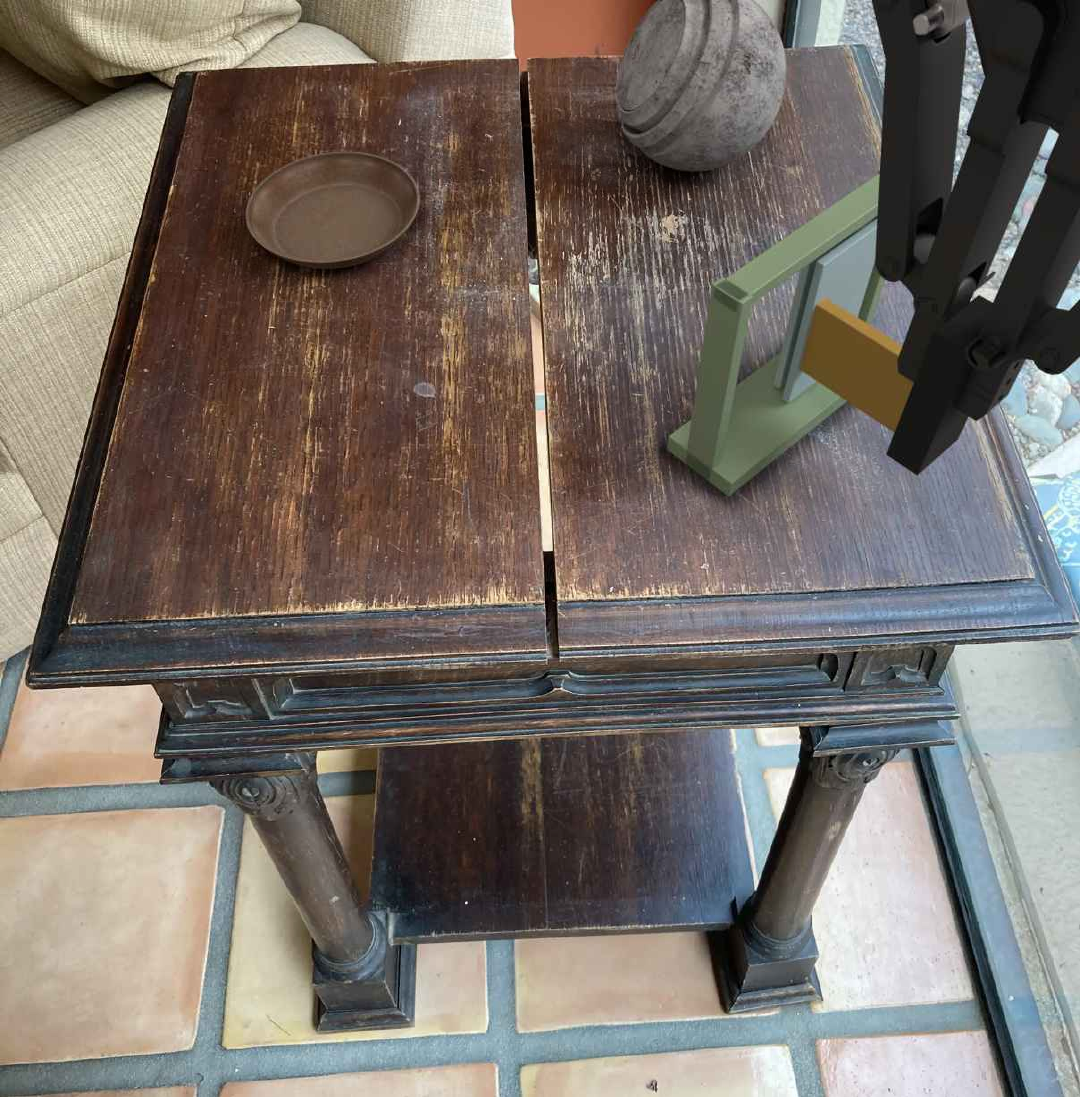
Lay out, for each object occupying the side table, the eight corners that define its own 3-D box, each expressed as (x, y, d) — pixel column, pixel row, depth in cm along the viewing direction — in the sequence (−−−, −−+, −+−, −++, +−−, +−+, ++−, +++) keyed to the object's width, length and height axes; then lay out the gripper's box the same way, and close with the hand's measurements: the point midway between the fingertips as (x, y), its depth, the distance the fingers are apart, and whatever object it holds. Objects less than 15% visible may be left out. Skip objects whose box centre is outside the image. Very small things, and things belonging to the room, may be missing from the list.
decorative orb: (601, 116, 100) (607, -47, 88) (749, 104, 101) (776, -59, 89) (627, 212, 92) (637, 47, 80) (788, 198, 93) (823, 32, 81)
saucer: (295, 309, 85) (287, 283, 83) (226, 213, 93) (218, 187, 91) (453, 245, 90) (450, 218, 88) (376, 158, 97) (371, 132, 95)
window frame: (877, 377, 80) (941, 192, 67) (728, 497, 74) (766, 319, 60) (815, 337, 83) (865, 151, 69) (666, 449, 76) (689, 269, 63)
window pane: (957, 432, 74) (1021, 294, 64) (900, 481, 72) (957, 346, 62) (838, 355, 79) (880, 215, 69) (781, 399, 76) (816, 261, 66)
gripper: (875, -313, 24) (734, 406, 43) (1493, -133, 18) (1011, 603, 37) (1057, -385, 27) (849, 319, 46) (1641, -250, 21) (1122, 490, 40)
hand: (922, 446), depth 41 cm, fingers closed
